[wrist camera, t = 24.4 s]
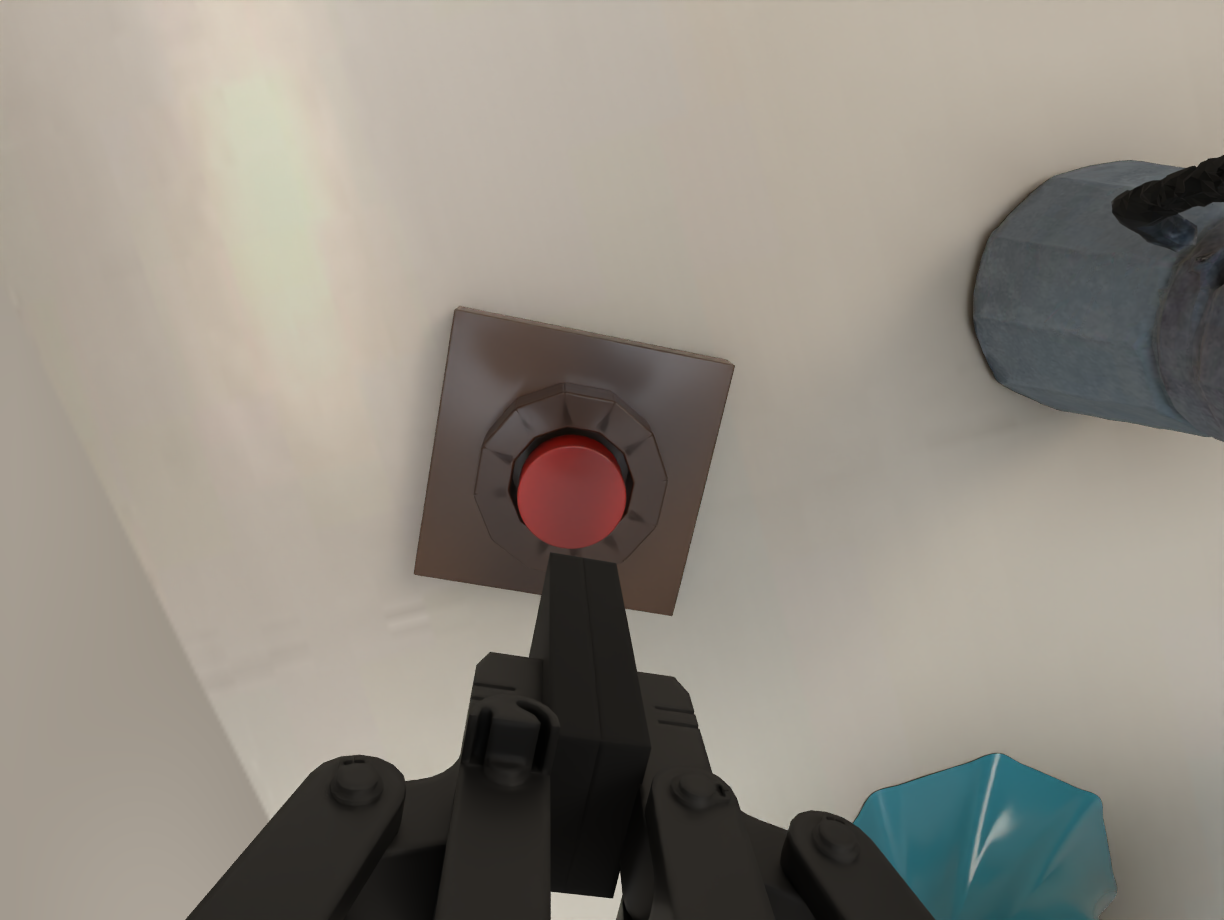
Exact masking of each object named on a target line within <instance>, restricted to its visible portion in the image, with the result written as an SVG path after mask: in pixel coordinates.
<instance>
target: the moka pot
mask: <svg viewBox="0 0 1224 920" xmlns="http://www.w3.org/2000/svg"><path fill="white" fill-rule="evenodd" d="M973 321H974V328H975V332H976V335H977V338H978V341H979V343H980V346H981V348H982V351H983V353H984V356H985V358H986V360H987V362H988V365H989V366H990V368H991V370H992V372H993V373H994V377H995V378H996V380H997V381H998V382H999V383H1001V384H1003V385H1004V386H1006V387H1007V388H1009V389H1011V390H1012V391H1015V392H1017V393H1019V394H1022V395H1024V396H1026V397H1028V398H1031V399H1033V400H1036V401H1037V402H1039V403H1041V404H1044V405H1046V406H1049V407H1052V408H1054V409H1057V410H1061V411H1067V412H1072V413H1078V414H1084V415H1089V416H1095V417H1099V418H1104V419H1108V420H1115V421H1122V422H1129V423H1134V424H1139V425H1144V426H1149V427H1153V428H1159V429H1167V430H1174V431H1179V432H1184V433H1188V434H1193V435H1198V436H1204V437H1213V438H1215V439H1217V440H1220V441H1223V442H1224V155H1223V156H1221V157H1219V158H1210V159H1208V160H1206V161H1204V162H1201V163H1200V164H1199V165H1198V167H1196V166H1191V167H1188V168H1182V167H1175V166H1167V165H1160V164H1155V163H1149V162H1144V161H1133V160H1127V161H1116V162H1110V163H1103V164H1098V165H1092V166H1087V167H1083V168H1080V169H1076V170H1073V171H1069V172H1066V173H1062V174H1059V175H1055V176H1053V177H1052V178H1050V179H1049V180H1047V181H1046V182H1045V183H1043V184H1042V185H1040V186H1039V187H1038V188H1037V189H1036V190H1034V191H1033V192H1032V193H1031V194H1029V195H1028V197H1027V198H1026V199H1025V200H1024V201H1023V202H1022V203H1021V204H1019V205H1018V206H1017V207H1016V208H1015V209H1014V210H1013V211H1012V212H1011V213H1010V214H1009V215H1008V217H1007V218H1006V219H1005V220H1004V221H1003V222H1002V223H1001V224H1000V226H999V227H998V228H996V229H995V230H994V231H993V232H992V233H991V235H990V237H989V239H988V241H987V243H986V247H985V250H984V252H983V255H982V258H981V262H980V268H979V271H978V273H977V277H976V285H975V289H974V311H973Z"/></svg>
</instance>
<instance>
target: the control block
mask: <svg viewBox="0 0 1224 920" xmlns="http://www.w3.org/2000/svg"><path fill="white" fill-rule="evenodd" d="M734 367H735V365H733V364H732V363H731V362H729V361H728V360H725V359H720V358H715V357H710V356H705V355H700V354H695V353H690V352H685V351H680V350H675V349H670V348H665V347H660V346H655V345H650V344H645V343H640V342H635V341H630V340H626V339H621V338H616V337H611V336H606V335H601V334H596V333H591V332H586V331H581V330H576V329H571V328H566V327H561V326H556V325H551V324H546V323H541V322H536V321H531V320H526V319H521V318H516V317H511V316H507V315H502V314H497V313H492V312H487V311H482V310H477V309H472V308H467V307H462V306H459V307H457V308H456V309H455V310H454V316H453V322H452V329H451V335H450V342H449V348H448V355H447V361H446V368H445V374H444V381H443V387H442V394H441V400H440V407H439V413H438V419H437V426H436V432H435V439H434V445H433V452H432V458H431V465H430V471H429V478H428V484H427V491H426V497H425V504H424V510H423V517H422V523H421V529H420V536H419V542H418V549H417V555H416V562H415V568H414V574H415V575H420V576H426V577H433V578H439V579H445V580H451V581H458V582H464V583H470V584H476V585H482V586H489V587H495V588H501V589H507V590H514V591H520V592H526V593H532V594H538V595H542V590H543V585H544V580H545V575H546V570H547V565H548V560H549V555H550V552H552V553H558V554H564V555H570V556H576V557H583V558H589V559H595V560H601V561H607V562H613V563H616V564H617V569H618V575H619V580H620V585H621V590H622V596H623V601H624V606H625V609H632V610H638V611H644V612H650V613H657V614H663V615H669V616H672V615H673V612H674V608H675V604H676V600H677V596H678V592H679V588H680V584H681V580H682V576H683V572H684V568H685V564H686V560H687V556H688V552H689V548H690V544H691V540H692V536H693V532H694V528H695V524H696V520H697V516H698V512H699V508H700V504H701V500H702V496H703V492H704V488H705V484H706V480H707V476H708V472H709V468H710V464H711V460H712V456H713V452H714V448H715V444H716V440H717V435H718V431H719V427H720V423H721V419H722V415H723V411H724V407H725V403H726V399H727V395H728V391H729V387H730V383H731V379H732V375H733V371H734ZM561 435H582V436H586V437H589V438H591V439H594V440H596V441H598V442H600V443H601V444H602V445H604V446H605V447H606V448H607V449H608V450H609V451H610V452H611V453H612V454H613V455H614V457H615V458H616V460H617V462H618V464H619V466H620V469H621V472H622V476H623V480H624V484H625V487H626V505H625V510H624V513H623V516H622V518H621V520H620V522H619V523H618V525H617V526H616V528H615V529H614V530H613V531H612V532H611V533H610V534H609V535H608V536H607V537H605V538H604V539H603V540H601V541H599V542H597V543H596V544H593V545H591V546H587V547H584V548H577V549H566V548H559V547H555V546H552V545H549V544H547V543H545V542H543V541H542V540H540V539H539V538H537V537H536V536H535V535H534V534H533V533H532V532H531V531H530V530H529V529H528V528H527V526H526V525H525V523H524V522H523V520H522V518H521V515H520V512H519V509H518V503H517V492H518V485H519V478H520V473H521V469H522V467H523V464H524V462H525V461H526V459H527V457H528V456H529V455H530V453H531V452H532V451H533V450H534V449H535V448H536V447H538V446H539V445H540V444H541V443H543V442H545V441H547V440H549V439H551V438H554V437H557V436H561Z"/></svg>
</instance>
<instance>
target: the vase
mask: <svg viewBox="0 0 1224 920" xmlns="http://www.w3.org/2000/svg"><path fill="white" fill-rule="evenodd" d="M853 824H854V825H856V826H857V827H859V828H860V829H861V830H862V831H863V832H864V833H865V834H866V835H867V836H868V837H869V838H871V839H872V841H873V842H874V843H875V844H876V846H877V847H878V848H879V849H880V851H881V852H882V853H883V854H884V856H885V857H886V858H887V859H888V861H889V862H890V863H891V864H892V866H893V867H894V868H895V869H896V871H897V872H898V873H899V874H900V876H901V877H902V878H903V879H904V881H905V882H906V883H907V885H908V886H909V887H910V888H911V890H912V891H913V892H914V893H915V895H916V896H917V897H918V898H919V900H920V901H921V902H922V903H923V905H924V906H925V907H926V908H927V910H928V911H929V912H930V913H931V915H932V916H933V917H934V918H935V920H1100V919H1099V918H1098V917H1099V915H1100V914H1101V913H1102V912H1103V911H1104V910H1105V908H1106V907H1107V906H1108V905H1109V904H1110V903H1111V902H1112V901H1113V900H1114V898H1115V896H1116V894H1117V884H1116V881H1115V878H1114V875H1113V871H1112V864H1111V858H1110V853H1109V847H1108V841H1107V836H1106V830H1105V826H1104V821H1103V806H1102V801H1101V799H1100V798H1099V797H1098V796H1097V795H1095V794H1093V793H1091V792H1088V791H1084V790H1081V789H1078V788H1076V787H1073V786H1071V785H1069V784H1067V783H1065V782H1063V781H1060V780H1058V779H1056V778H1053V777H1051V776H1049V775H1046V774H1044V773H1042V772H1040V771H1037V770H1035V769H1033V768H1030V767H1028V766H1025V765H1023V764H1021V763H1019V762H1017V761H1015V760H1013V759H1012V758H1010V757H1008V756H1006V755H1004V754H999V753H996V754H990V755H987V756H984V757H982V758H979V759H977V760H975V761H972V762H970V763H967V764H963V765H960V766H957V767H953V768H950V769H947V770H944V771H941V772H938V773H935V774H932V775H929V776H925V777H922V778H919V779H916V780H913V781H910V782H908V783H905V784H901V785H898V786H894V787H889V788H885V789H881V790H879V791H876V792H875V793H873V794H872V795H871V796H870V797H869V798H868V799H867V801H866V802H865V804H864V806H863V808H862V810H861V812H860V814H859V815H858V817H857V818H856V820H855V821H854V823H853Z"/></svg>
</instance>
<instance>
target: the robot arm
mask: <svg viewBox="0 0 1224 920" xmlns="http://www.w3.org/2000/svg"><path fill="white" fill-rule="evenodd" d="M619 873H620V874H621V884H622V893H623V895H622V899H621V903H620V907H619V911H618V914H617V918H616V920H935V918H934V917H933V916H932V915H931V913H930V912H929V911H928V910H927V908H926V907H925V906H924V905H923V903H922V902H921V901H920V900H919V898H918V897H917V896H916V895H915V893H914V892H913V891H912V890H911V888H910V887H909V886H908V885H907V883H906V882H905V881H904V879H903V878H902V877H901V876H900V874H899V873H898V872H897V871H896V869H895V868H894V867H893V866H892V864H891V863H890V862H889V861H888V859H887V858H886V857H885V856H884V854H883V853H882V852H881V851H880V849H879V848H878V847H877V846H876V844H875V843H874V842H873V841H872V839H871V838H869V837H868V836H867V835H866V834H865V833H864V832H863V831H862V830H861V829H860V828H859V827H857V826H856V825H854V824H852V823H851V822H849V821H848V820H846V819H844V818H842V817H839V816H837V815H834V814H831V813H828V812H822V811H812V810H811V811H807V812H803V813H799V814H798V815H797V816H796V817H795V818H794V819H793V820H792V821H791V823H790V826H789V829H788V830H785V829H783V828H780V827H777V826H774V825H772V824H769V823H766V822H763V821H761V820H758V819H756V818H754V817H752V816H749V815H747V814H746V813H744V812H742V811H741V810H740V807H739V804H738V801H737V798H736V796H735V795H734V793H733V791H732V789H731V788H730V786H729V785H727V784H726V783H725V782H724V781H723V780H722V779H721V778H720V777H718V776H716V775H715V774H713V773H712V770H711V767H710V763H709V760H708V757H707V753H706V750H705V746H704V743H703V740H702V736H701V733H700V729H698V722H697V719H696V716H695V715H694V709H693V705H692V702H691V698H690V695H689V693H688V692H687V691H686V690H685V689H684V687H683V686H682V685H681V684H680V683H679V682H678V681H677V680H676V678H675V677H671V676H664V675H657V674H650V673H644V672H637V669H636V664H635V658H634V653H633V648H632V643H631V637H630V632H629V627H628V622H627V617H626V611H625V606H624V601H623V596H622V590H621V585H620V580H619V575H618V569H617V564H616V563H613V562H607V561H601V560H595V559H589V558H583V557H576V556H570V555H564V554H558V553H552V552H550V555H549V560H548V565H547V570H546V575H545V580H544V585H543V590H542V595H541V600H540V605H539V610H538V615H537V620H536V625H535V630H534V634H533V639H532V644H531V649H530V654H529V658H528V657H521V656H514V655H508V654H501V653H494V652H490V653H489V654H487V655H486V656H485V657H484V658H483V659H482V660H481V661H480V662H479V663H478V664H477V665H476V670H475V676H474V681H473V687H472V692H471V698H470V703H469V709H468V714H467V720H466V725H465V731H464V736H463V742H462V748H461V754H460V757H459V759H458V760H457V761H456V762H455V764H454V765H453V766H452V767H450V768H449V769H447V770H446V771H444V772H443V773H440V774H438V775H435V776H433V777H429V778H424V779H419V780H411V781H405V779H404V776H403V774H402V773H401V772H400V771H399V770H398V769H397V768H396V767H395V766H394V765H393V764H391V763H389V762H386V761H384V760H382V759H380V758H377V757H371V756H365V755H352V756H341V757H338V758H335V759H333V760H330V761H327V762H325V763H323V764H321V765H320V766H319V767H318V768H316V769H315V770H314V771H313V772H311V773H310V774H309V776H308V777H307V778H306V779H305V780H304V781H303V783H302V784H301V785H300V786H299V787H298V788H297V790H296V791H295V792H294V793H293V794H292V795H291V797H290V798H289V799H288V800H287V801H286V802H285V804H284V805H283V806H282V807H281V808H280V809H279V811H278V812H277V813H276V814H275V815H274V816H273V818H272V819H271V820H270V821H269V822H268V824H267V825H266V826H265V827H264V828H263V829H262V831H261V832H260V833H259V834H258V835H257V836H256V838H255V839H254V840H253V841H252V842H251V843H250V845H249V846H248V847H247V848H246V849H245V851H244V852H243V853H242V854H241V855H240V856H239V857H238V859H237V860H236V861H235V862H234V863H233V864H232V866H231V867H230V868H229V869H228V870H227V872H226V873H225V874H224V875H223V877H221V879H220V880H219V881H218V882H217V883H216V884H215V886H214V887H213V888H212V889H211V890H210V891H209V893H208V894H207V895H206V896H205V897H204V898H203V900H202V901H201V902H200V903H199V904H198V905H197V907H196V908H195V909H194V910H193V911H192V912H191V914H190V915H189V916H188V917H187V919H186V920H551V892H559V893H569V894H578V895H587V896H596V897H605V898H613V896H614V892H615V888H616V884H617V880H618V876H619Z"/></svg>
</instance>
